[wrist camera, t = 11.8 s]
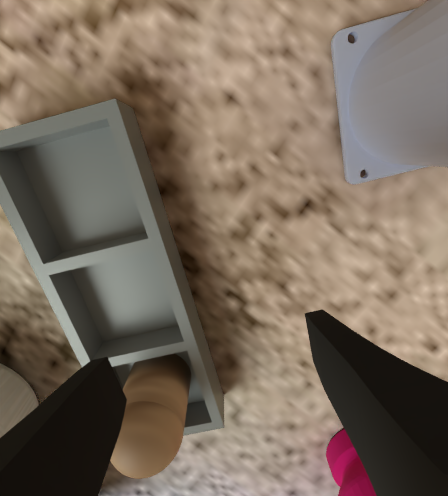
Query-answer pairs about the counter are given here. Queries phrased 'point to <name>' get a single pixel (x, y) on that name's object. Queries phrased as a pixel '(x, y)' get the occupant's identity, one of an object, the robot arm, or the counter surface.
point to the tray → (106, 246)
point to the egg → (152, 416)
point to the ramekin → (14, 399)
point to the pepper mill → (348, 467)
